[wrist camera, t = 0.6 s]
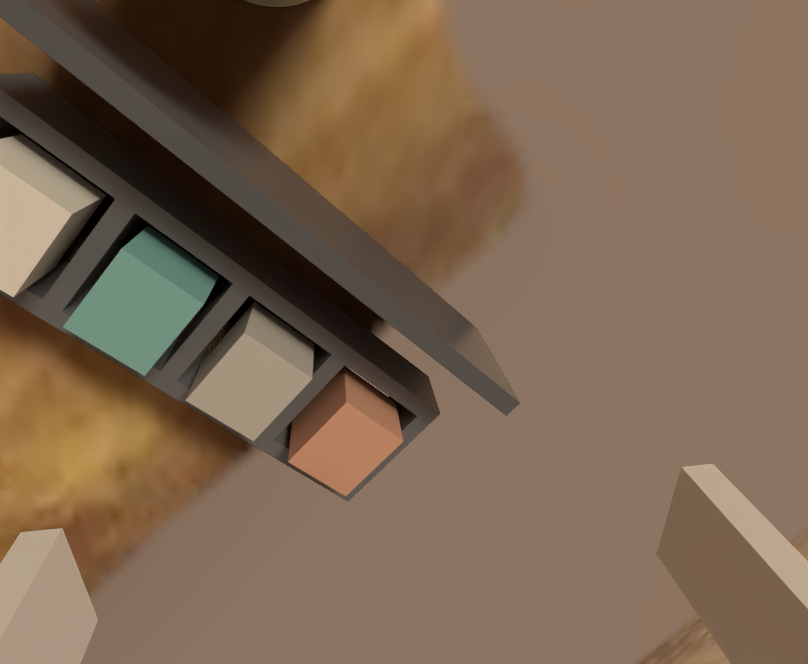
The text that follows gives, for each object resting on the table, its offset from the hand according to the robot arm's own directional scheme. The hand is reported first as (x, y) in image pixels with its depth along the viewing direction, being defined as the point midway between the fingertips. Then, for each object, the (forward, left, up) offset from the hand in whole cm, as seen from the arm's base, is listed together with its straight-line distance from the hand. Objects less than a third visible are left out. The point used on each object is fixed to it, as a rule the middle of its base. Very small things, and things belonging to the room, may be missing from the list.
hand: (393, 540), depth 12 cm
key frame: (-4, -8, -23) cm, 24 cm away
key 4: (+6, -8, -20) cm, 22 cm away
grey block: (0, -8, -20) cm, 21 cm away
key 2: (-7, -8, -20) cm, 23 cm away
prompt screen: (-4, 0, -23) cm, 23 cm away
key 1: (-13, -8, -20) cm, 25 cm away
